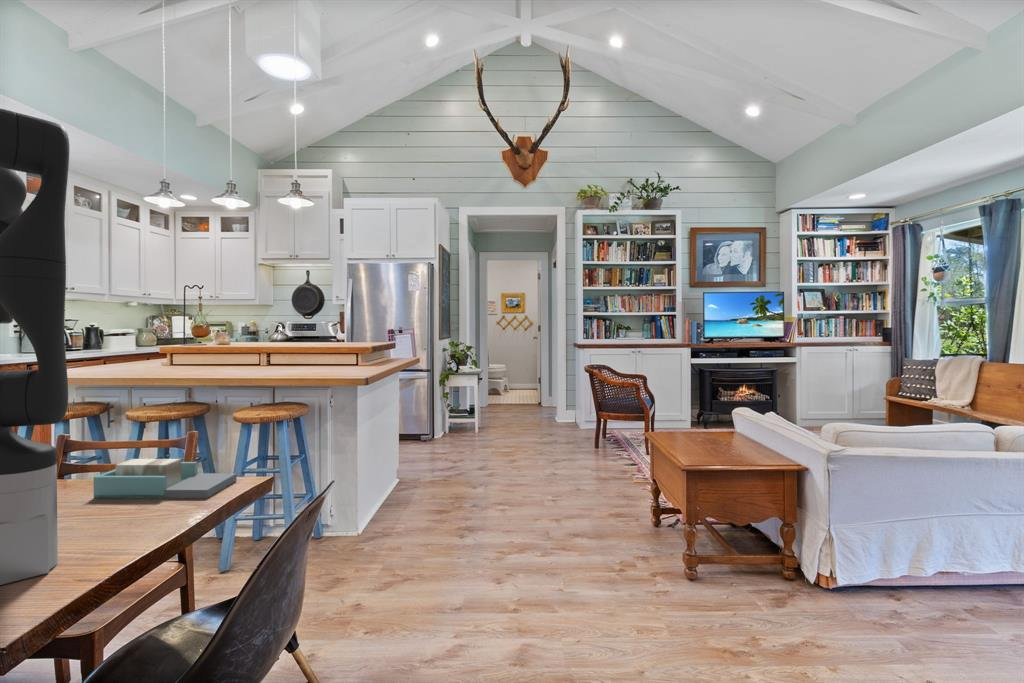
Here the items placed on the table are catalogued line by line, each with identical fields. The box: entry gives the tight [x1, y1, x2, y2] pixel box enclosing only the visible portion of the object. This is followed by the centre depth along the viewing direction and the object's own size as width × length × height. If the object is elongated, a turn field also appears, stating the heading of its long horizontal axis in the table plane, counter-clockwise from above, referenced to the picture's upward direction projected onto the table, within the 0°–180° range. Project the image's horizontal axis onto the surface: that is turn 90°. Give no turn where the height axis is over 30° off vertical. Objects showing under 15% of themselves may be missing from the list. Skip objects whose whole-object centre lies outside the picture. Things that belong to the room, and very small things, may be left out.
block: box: [115, 458, 182, 488], centre depth 128 cm, size 6×6×12 cm
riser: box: [163, 472, 238, 499], centre depth 129 cm, size 10×14×2 cm
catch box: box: [93, 461, 199, 499], centre depth 128 cm, size 16×14×5 cm
